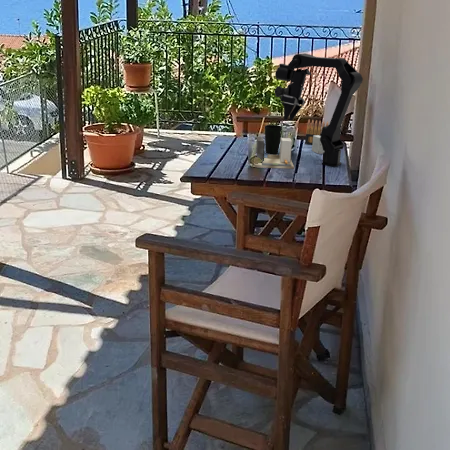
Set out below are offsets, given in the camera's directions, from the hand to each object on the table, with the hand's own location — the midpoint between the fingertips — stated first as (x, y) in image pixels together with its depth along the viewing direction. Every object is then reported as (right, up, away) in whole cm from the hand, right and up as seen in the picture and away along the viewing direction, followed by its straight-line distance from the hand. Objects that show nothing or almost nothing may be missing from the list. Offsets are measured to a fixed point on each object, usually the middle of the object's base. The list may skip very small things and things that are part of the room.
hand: (288, 120), depth 276 cm
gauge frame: (-7, -20, -8) cm, 22 cm away
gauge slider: (-2, -19, -8) cm, 20 cm away
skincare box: (+16, -12, +16) cm, 26 cm away
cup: (-6, -13, +11) cm, 18 cm away
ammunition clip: (+16, -7, +29) cm, 34 cm away
